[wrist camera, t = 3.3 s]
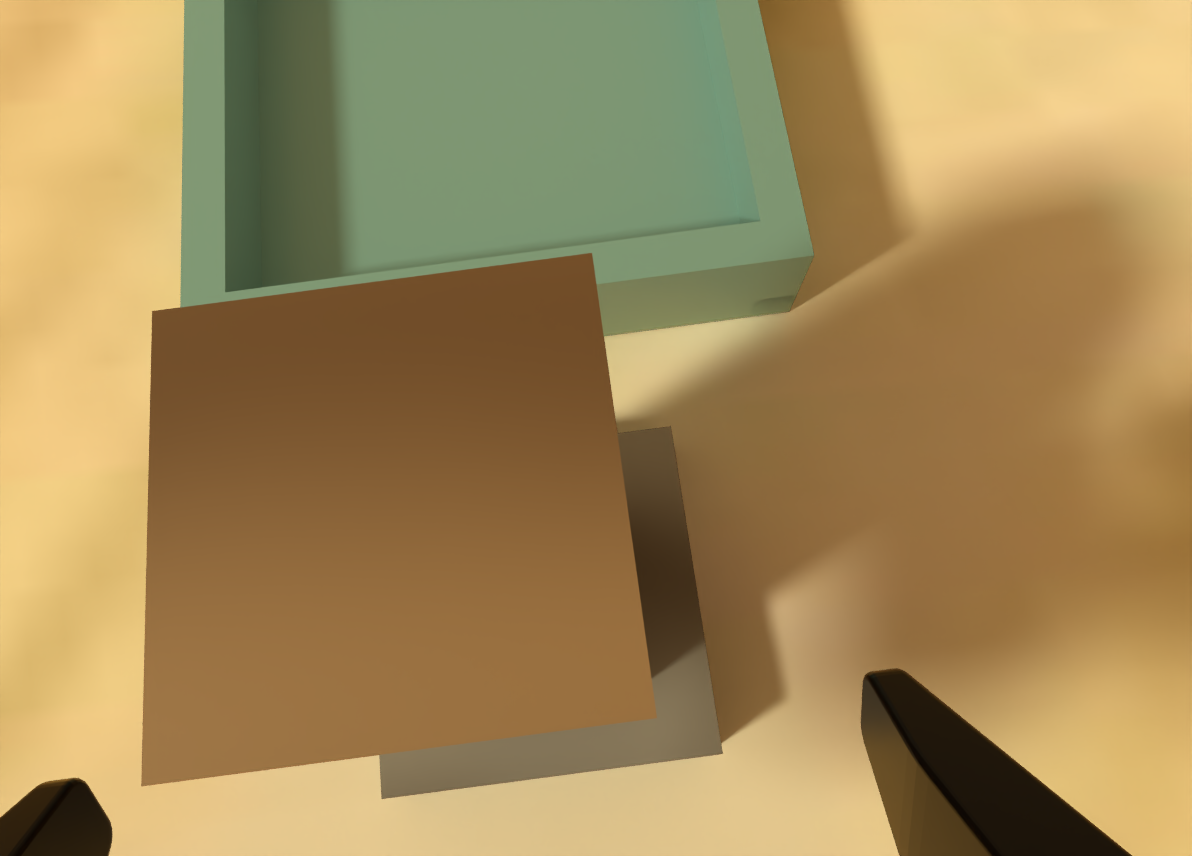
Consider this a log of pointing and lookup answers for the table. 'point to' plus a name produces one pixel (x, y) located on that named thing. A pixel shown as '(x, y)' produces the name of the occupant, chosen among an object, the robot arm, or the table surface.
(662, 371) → the table surface
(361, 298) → the handle post
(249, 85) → the tray
